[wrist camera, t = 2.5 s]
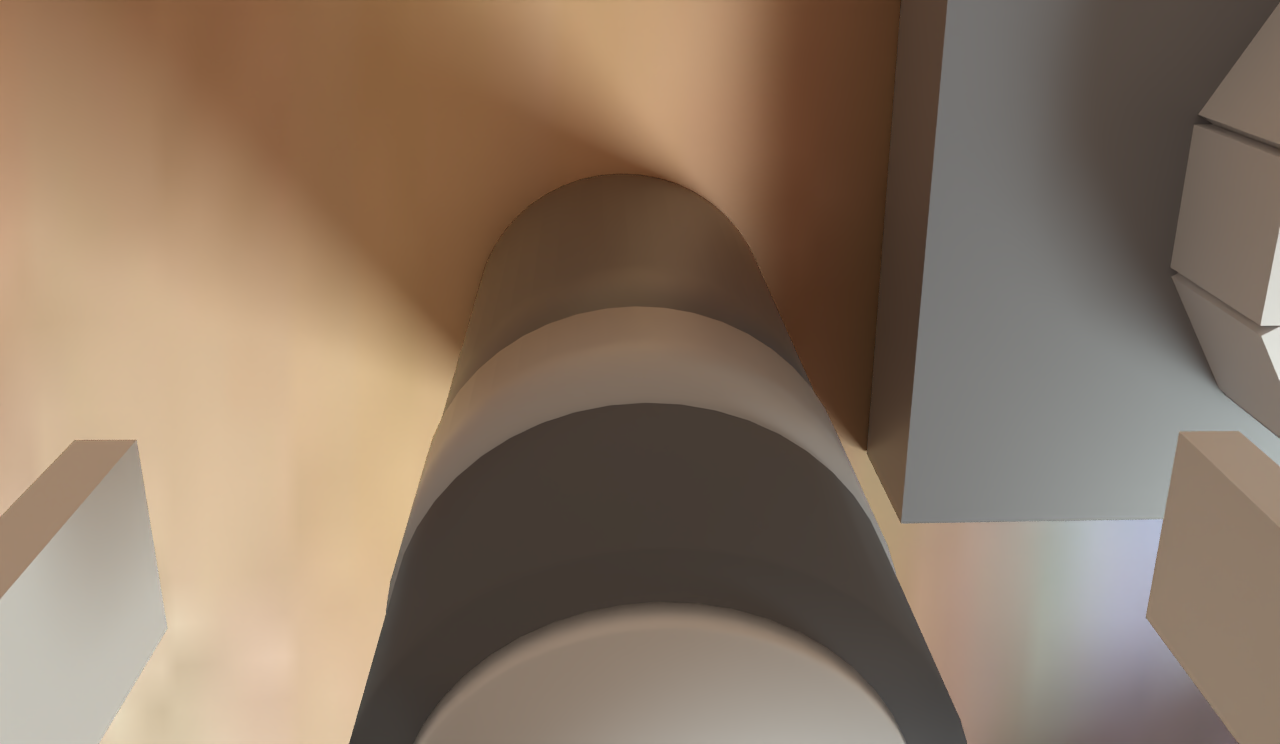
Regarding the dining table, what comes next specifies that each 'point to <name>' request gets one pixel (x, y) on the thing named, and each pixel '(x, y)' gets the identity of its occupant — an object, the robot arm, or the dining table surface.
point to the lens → (641, 511)
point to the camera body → (1075, 253)
